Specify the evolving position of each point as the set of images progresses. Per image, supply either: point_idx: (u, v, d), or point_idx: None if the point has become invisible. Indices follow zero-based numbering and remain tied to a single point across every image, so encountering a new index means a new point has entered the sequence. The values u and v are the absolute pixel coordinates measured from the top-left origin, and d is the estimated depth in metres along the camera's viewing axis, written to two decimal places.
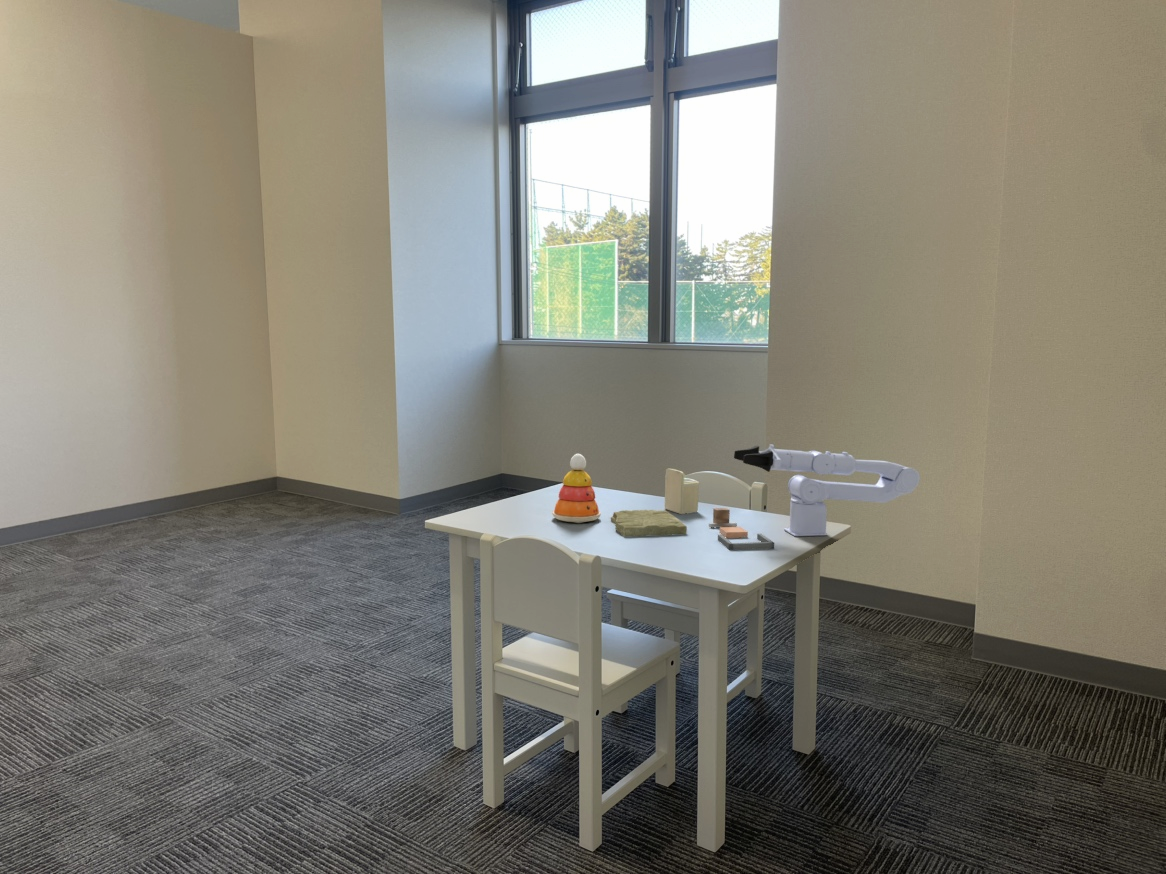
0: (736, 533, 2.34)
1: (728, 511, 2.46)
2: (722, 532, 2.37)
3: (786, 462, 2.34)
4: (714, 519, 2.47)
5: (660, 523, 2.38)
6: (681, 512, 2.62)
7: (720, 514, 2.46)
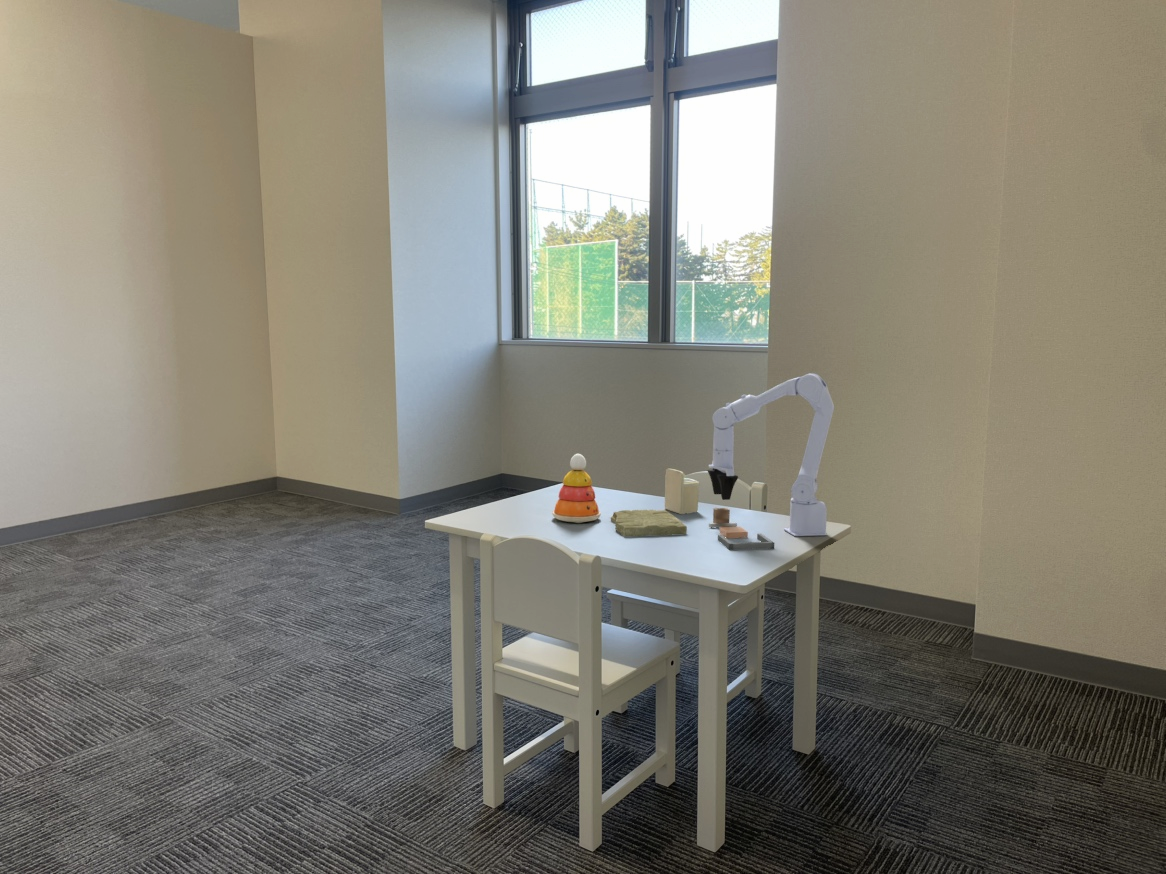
0: (736, 533, 2.34)
1: (728, 511, 2.46)
2: (722, 532, 2.37)
3: (727, 455, 2.42)
4: (714, 519, 2.47)
5: (660, 523, 2.38)
6: (681, 512, 2.62)
7: (720, 514, 2.46)
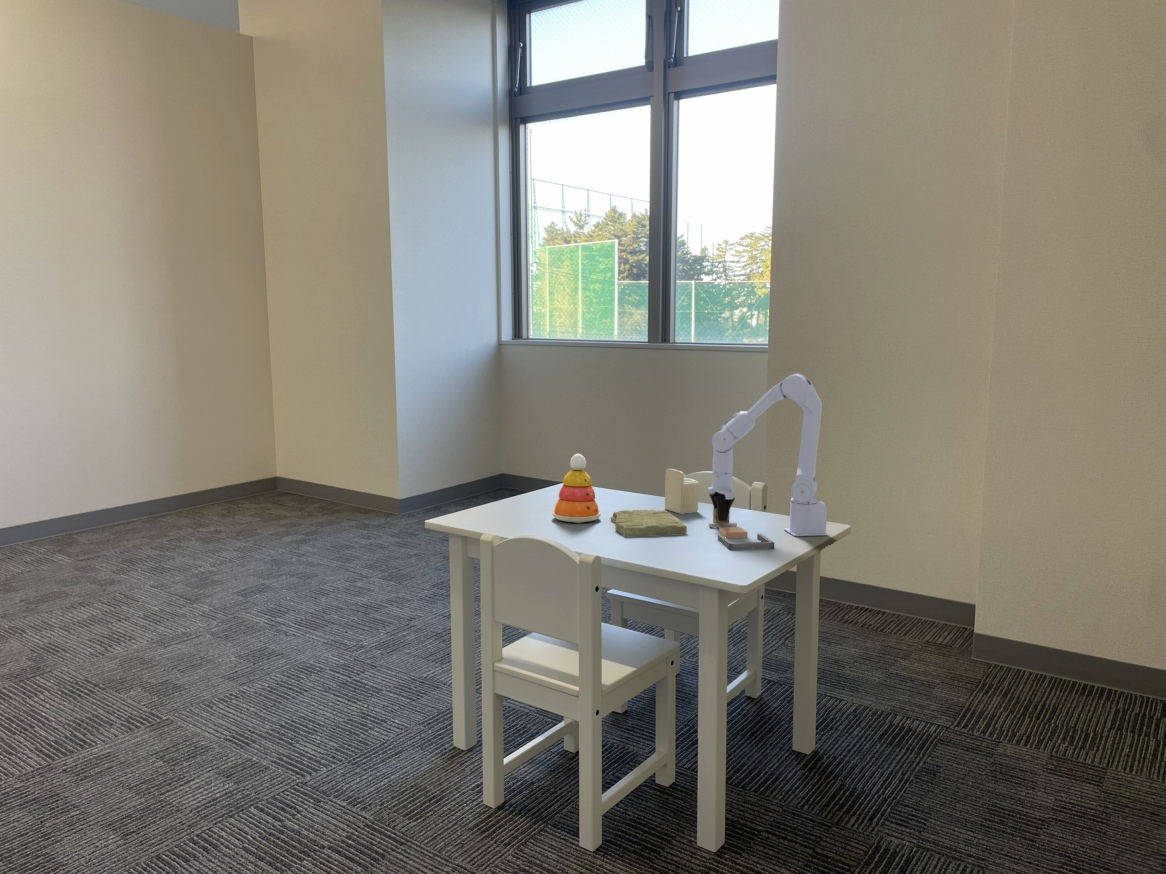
0: (736, 533, 2.34)
1: None
2: (722, 532, 2.37)
3: (726, 478, 2.43)
4: (714, 519, 2.47)
5: (660, 523, 2.38)
6: (681, 512, 2.62)
7: None
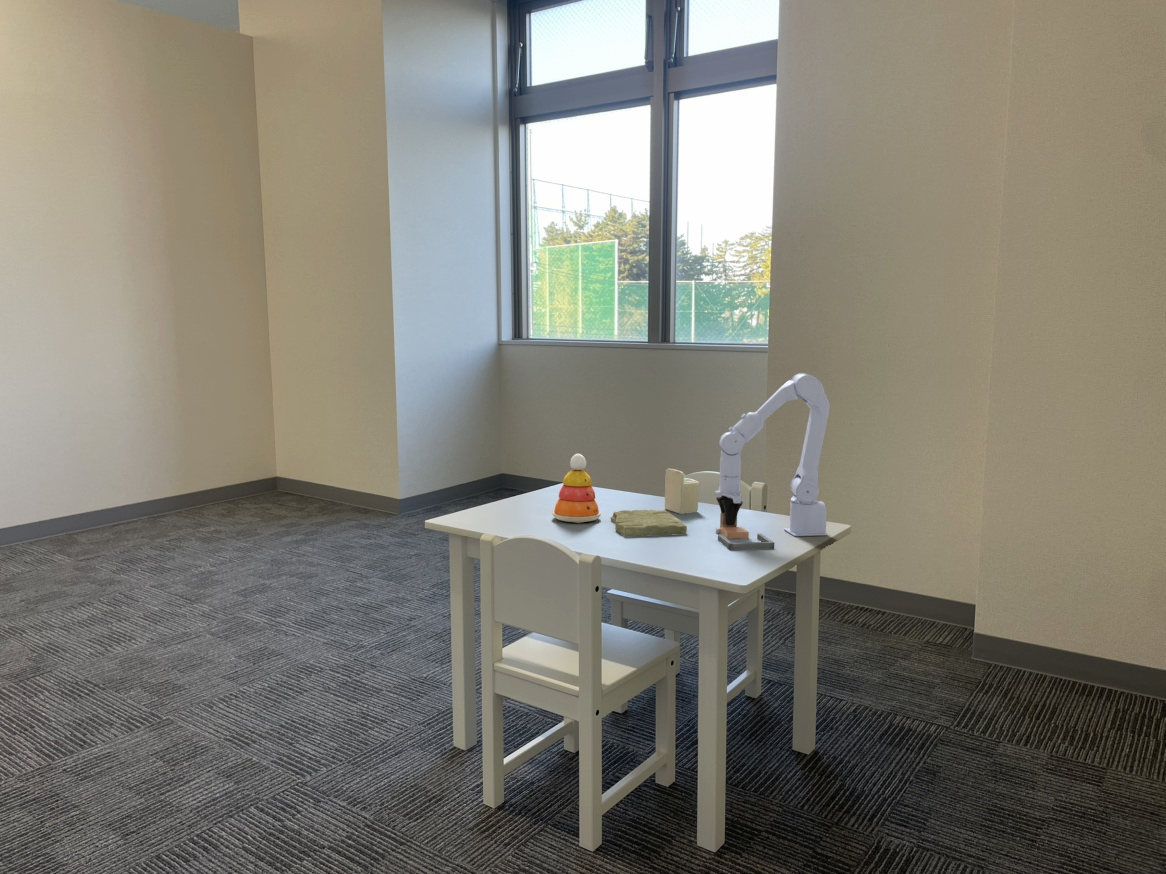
0: (737, 533, 2.33)
1: None
2: (723, 532, 2.36)
3: (734, 481, 2.37)
4: (721, 524, 2.41)
5: (660, 523, 2.38)
6: (681, 512, 2.62)
7: None
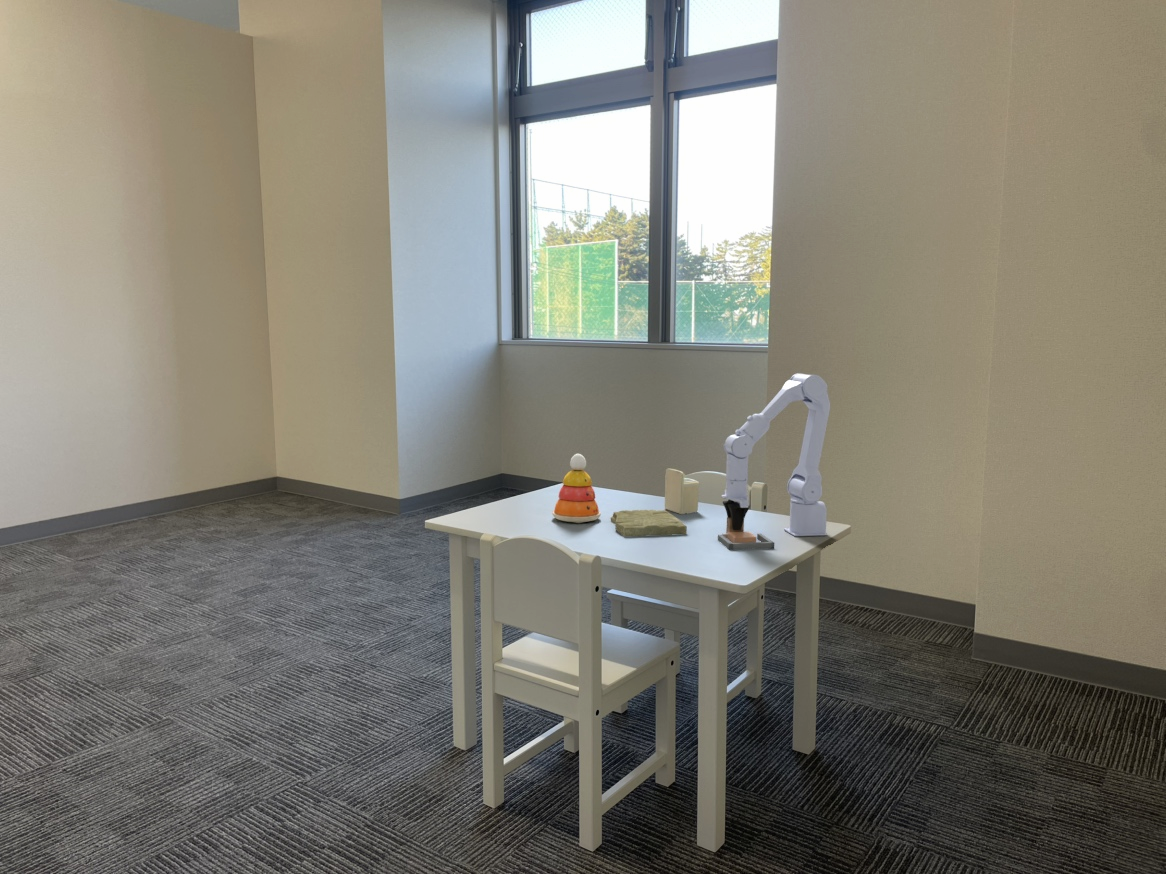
0: (744, 538, 2.27)
1: None
2: (730, 537, 2.30)
3: (740, 485, 2.31)
4: (727, 529, 2.35)
5: (660, 523, 2.38)
6: (681, 512, 2.62)
7: None
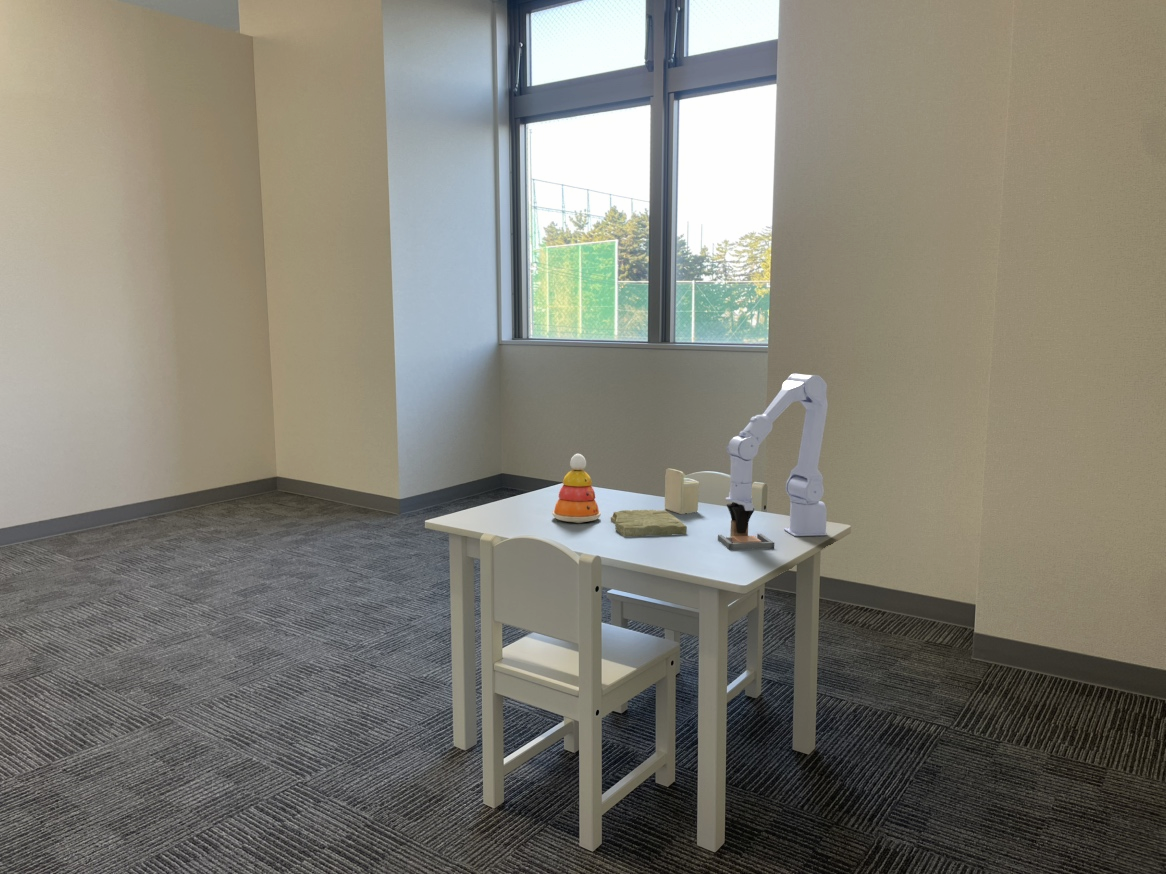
0: (749, 542, 2.24)
1: None
2: (735, 541, 2.27)
3: (745, 487, 2.27)
4: (732, 532, 2.31)
5: (660, 523, 2.38)
6: (681, 512, 2.62)
7: None
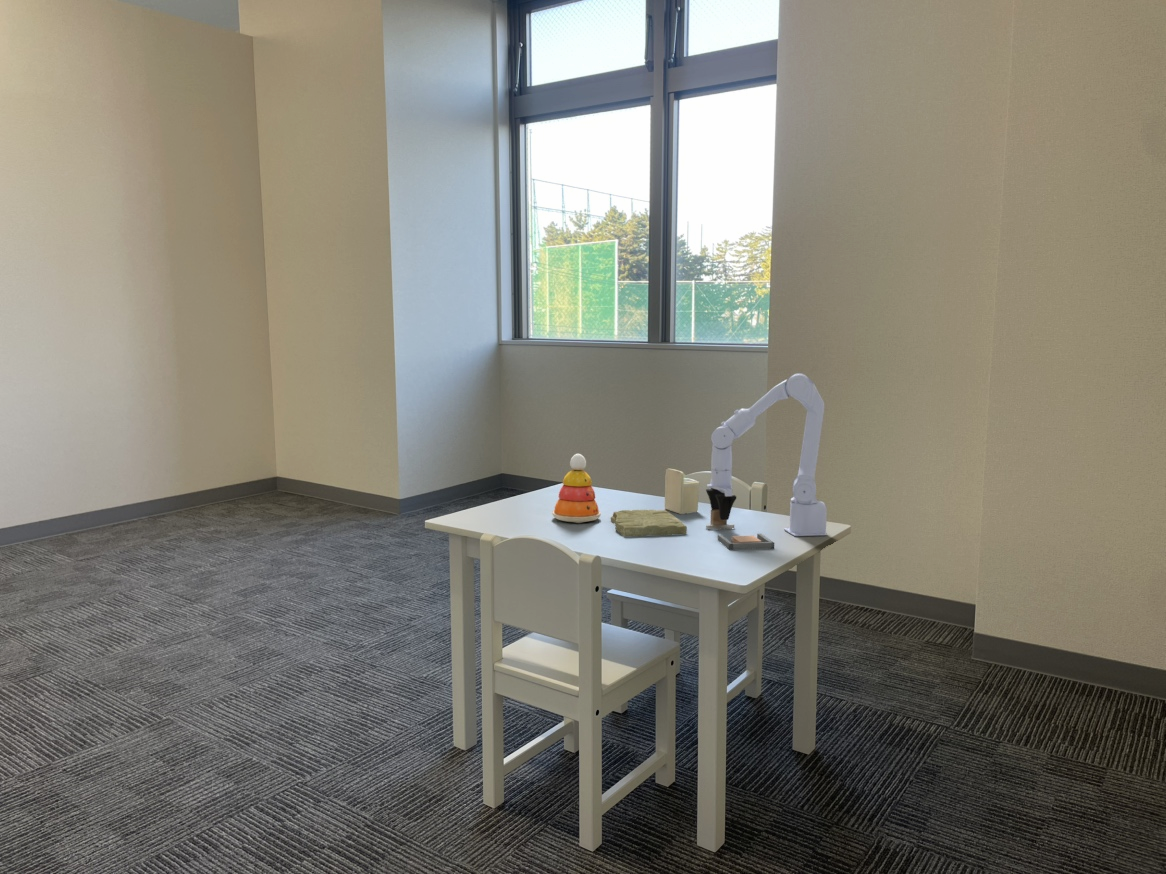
0: (750, 542, 2.24)
1: None
2: (735, 541, 2.27)
3: (725, 475, 2.41)
4: (711, 521, 2.45)
5: (660, 523, 2.38)
6: (681, 512, 2.62)
7: (717, 516, 2.44)
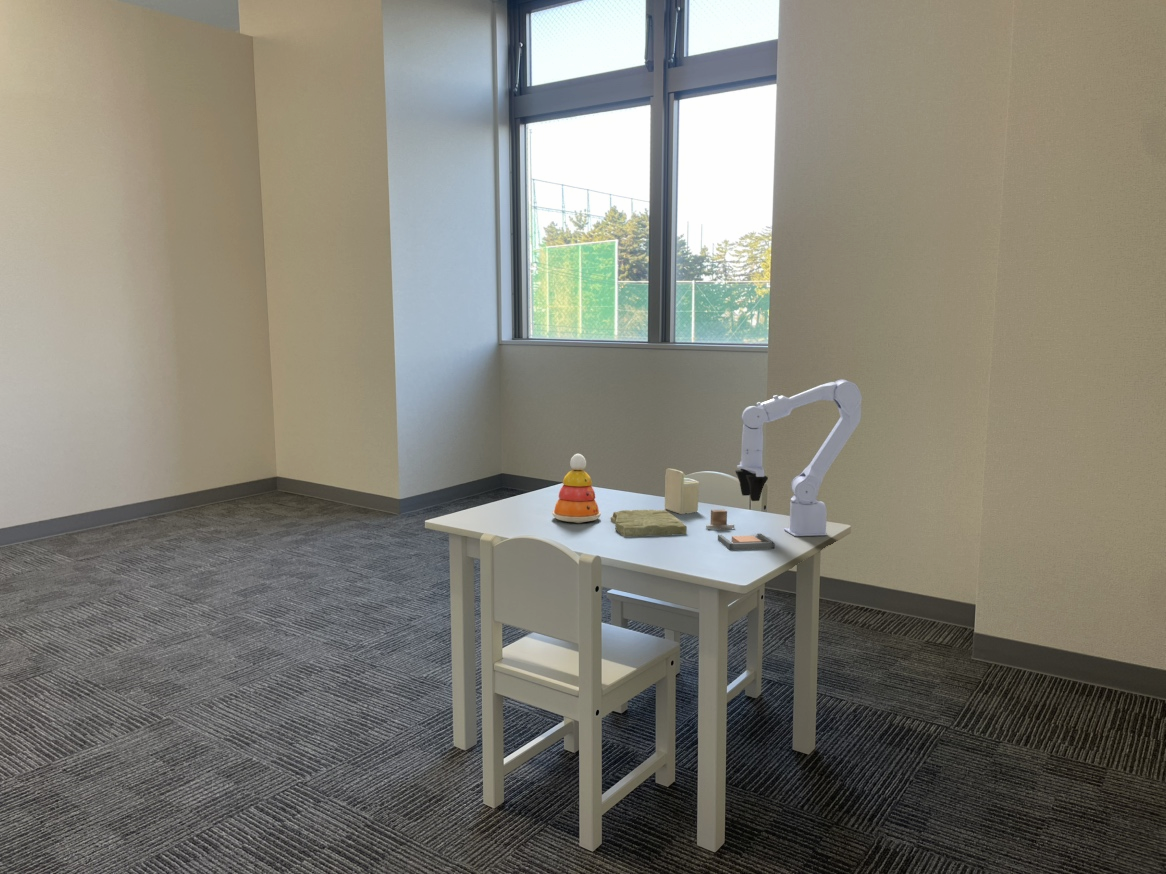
0: (750, 542, 2.24)
1: (725, 513, 2.44)
2: (735, 541, 2.27)
3: (756, 455, 2.36)
4: (711, 521, 2.45)
5: (660, 523, 2.38)
6: (681, 512, 2.62)
7: (717, 516, 2.44)
